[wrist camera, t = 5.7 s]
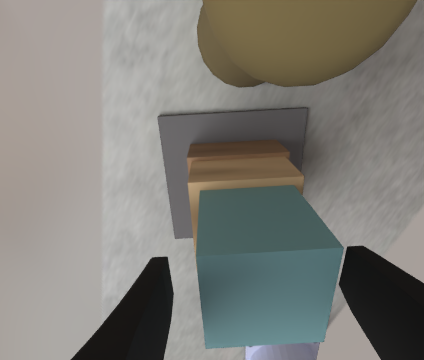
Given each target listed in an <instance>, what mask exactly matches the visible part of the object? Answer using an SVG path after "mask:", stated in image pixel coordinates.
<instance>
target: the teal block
mask: <svg viewBox="0 0 424 360" xmlns="http://www.w3.org/2000/svg"><path fill="white" fill-rule="evenodd" d="M343 249H344V247H343V246H342V245H341V244H340V242H339V241H338V240H337V238H336V237H335V236H334V235H333V233H332V232H331V231H330V230H329V228H328V227H327V226H326V225H325V223H324V222H323V221H322V220H321V218H320V217H319V216H318V215H317V213H316V212H315V211H314V210H313V208H312V207H311V206H310V205H309V203H308V202H307V201H306V200H305V198H304V197H303V196H302V195H301V193H300V192H299V191H298V190H297V188H296V187H295V186H294V185H283V186H267V187H250V188H234V189H217V190H201V191H200V194H199V211H198V227H197V243H196V264H197V273H198V282H199V291H200V300H201V310H202V319H203V328H204V337H205V346H206V349H209V348H227V347H244V346H262V345H279V344H296V343H314V342H324V339H325V334H326V329H327V325H328V320H329V315H330V311H331V306H332V301H333V297H334V292H335V287H336V282H337V278H338V273H339V268H340V264H341V259H342V254H343Z"/></svg>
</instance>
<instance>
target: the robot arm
mask: <svg viewBox="0 0 424 360" xmlns="http://www.w3.org/2000/svg"><path fill="white" fill-rule="evenodd" d="M339 286H340V288H341V290H342V293H343V295H344V297H345V299H346V301H347V303H348V305H349V307H350V310H351V311H352V313H353V315H354V316H355V318H356V320H357V321H358V323H359V325H360V326H361V328H362V329H363V331H364V333H365V334H366V336H367V338H368V339H369V341H370V343H371V344H372V346H373V347H374V349H375V350H376V352H377V354H378V356H379V357H380V359H381V360H424V283H422V282H421V281H419V280H418V279H416V278H414V277H413V276H411V275H410V274H408V273H406V272H405V271H403V270H402V269H400V268H398V267H397V266H395V265H394V264H392V263H390V262H389V261H387V260H386V259H384V258H382V257H381V256H379V255H378V254H376V253H374V252H373V251H371V250H369V249H368V248H366V247H364V246H349V247H347V250H346V255H345V259H344V264H343V268H342V273H341V277H340V281H339ZM173 295H174V293H173V287H172V281H171V275H170V269H169V263H168V257H152V258H151V259H150V261H149V262H148V264H147V265H146V267H145V268H144V270H143V271H142V273H141V274H140V275H139V277H138V278H137V280H136V281H135V283H134V284H133V285H132V287H131V288H130V289H129V291H128V292H127V293H126V295H125V296H124V297H123V299H122V300H121V301H120V303H119V304H118V305H117V307H116V308H115V309H114V310H113V312H112V313H111V314H110V315H109V317H108V318H107V319H106V320H105V321H104V323H103V324H102V325H101V326H100V328H99V329H98V330H97V331H96V332H95V333H94V335H93V336H92V337H91V338H90V339H89V340H88V341H87V343H86V344H85V345H84V346H83V347H82V348H81V349H80V350H79V351H78V352H77V353H76V354H75V356H74V357H73V358H72V359H71V360H163V359H164V354H165V349H166V344H167V339H168V334H169V329H170V324H171V317H172V306H173ZM319 344H320V342H314V343H296V344H279V345H262V346H246V350H245V360H316V358H317V353H318V348H319Z"/></svg>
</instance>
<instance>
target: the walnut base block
mask: <svg viewBox="0 0 424 360" xmlns="http://www.w3.org/2000/svg"><path fill="white" fill-rule="evenodd" d="M289 155H290V152H289V151H288V150H287V149H286V148H285V147H284V146H283V145H281V144H280V143H279V142H278V141H277V140H276V139H274V140H256V141H239V142H221V143H203V144H190V147H189V151H188V155H187V164H188V174H189V173H190V167H191V162H194V161H212V160H230V159H248V158H266V157H284V156H285V157H286V158H287V159H288V160H289Z"/></svg>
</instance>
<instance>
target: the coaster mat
mask: <svg viewBox="0 0 424 360" xmlns="http://www.w3.org/2000/svg"><path fill="white" fill-rule="evenodd" d="M307 110H308V108H287V109H270V110H253V111H236V112H218V113H201V114H184V115H166V116H158V124H159V131H160V138H161V145H162V152H163V159H164V166H165V173H166V180H167V187H168V194H169V201H170V208H171V214H172V221H173V228H174V235H175V239H181V238H193V230H192V220H191V210H190V200H189V191H188V178H189V174H188V164H187V155H188V151H189V147H190V144H203V143H221V142H239V141H256V140H274V139H276V140H277V141H278V142H279V143H280V144H281V145H283V146H284V147H285V148H286V149H287V150H288V151H289V152H290V155H289V161H290V162H291V163H292V164H293V165H294V166H295V167H296V168H297V169H298V170H299V171H300V172H301V166H302V156H303V147H304V138H305V128H306V119H307Z"/></svg>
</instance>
